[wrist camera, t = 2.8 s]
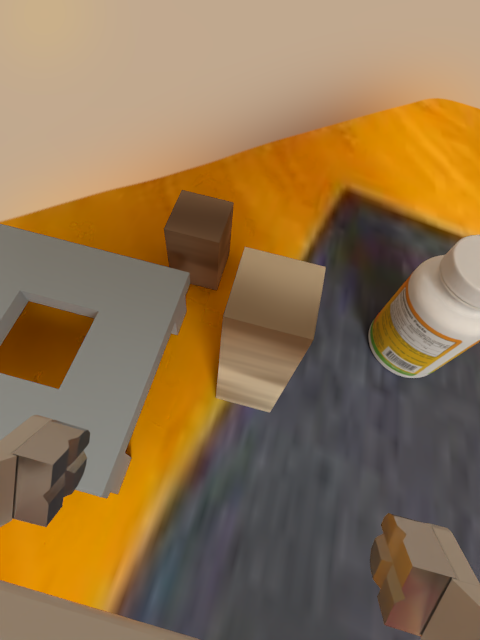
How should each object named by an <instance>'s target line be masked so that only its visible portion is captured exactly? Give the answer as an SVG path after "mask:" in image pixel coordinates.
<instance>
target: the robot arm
mask: <svg viewBox="0 0 480 640" xmlns="http://www.w3.org/2000/svg"><path fill="white" fill-rule="evenodd" d="M89 440H90V432H89V430H87V429H84V428H80V427H77V426H74V425H71V424H67V423H64V422H61V421H57V420H53V419H50V418H47V417H43V416H40V415H33V416H31V417H30V418H28V419H27V420H26V421H25V422H23V423H22V424H21V425H19V426H18V427H17V428H16V429H14V430H13V431H12V432H10V433H9V434H8V435H7V436H5V437H4V438H3V439H2V440H0V527H1V526H3V525H4V524H6V523H8V522H10V521H12V518H13V519H17V520H21V521H25V522H29V523H33V524H36V525H40V526H44V527H47V525H48V524H49V523H50V521H51V520H52V519H53V517H54V516H55V515H56V514H57V512H58V511H59V510H60V508H61V507H62V503H63V497H65V496H67V495H70V494H72V493H73V491H74V490H75V489H76V487H77V486H78V484H79V482H80V480H81V478H82V476H83V474H84V471H85V467H86V462H87V456H86V454H85V452H84V449H85V448H86V447H87V446H88V444H89ZM381 526H382V530H383V534H382V535H380V536H378V537H376V538H375V540H374V543H373V545H372V548H371V555H370V568H371V573H372V577H373V580H374V581H375V582H376V584H377V585H378V586H379V587H380V592H379V594H378V596H377V598H378V601H379V605H380V609H381V613H382V617H383V621H384V625H386V626H390V627H393V628H396V629H399V630H402V631H405V632H408V633H411V634H414V635H417V636H421V638H420V639H421V640H480V584H479V582H478V580H477V578H476V576H475V574H474V573H473V571H472V569H471V567H470V565H469V563H468V561H467V560H466V558H465V556H464V554H463V552H462V550H461V549H460V547H459V545H458V543H457V541H456V539H455V538H454V536H453V534H452V532H451V531H450V530H449V529H447V528H445V527H441V526H437V525H433V524H429V523H423V522H419V521H415V520H412V519H408V518H404V517H401V516H397V515H393V514H390V513H388V514H387V515H386V516H385V517H384V519H383V522H382V524H381ZM0 640H200V639H197V638H194V637H190V636H187V635H183V634H180V633H177V632H173V631H170V630H167V629H163V628H160V627H156V626H153V625H150V624H146V623H143V622H140V621H136V620H133V619H130V618H126V617H123V616H119V615H116V614H113V613H109V612H106V611H103V610H99V609H96V608H92V607H89V606H86V605H82V604H79V603H76V602H72V601H69V600H66V599H62V598H59V597H55V596H52V595H49V594H45V593H42V592H39V591H35V590H32V589H28V588H25V587H22V586H18V585H15V584H12V583H8V582H5V581H2V580H0Z"/></svg>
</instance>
